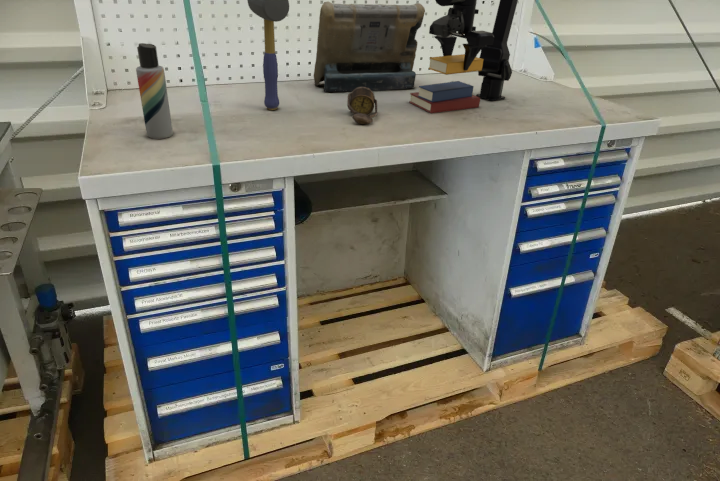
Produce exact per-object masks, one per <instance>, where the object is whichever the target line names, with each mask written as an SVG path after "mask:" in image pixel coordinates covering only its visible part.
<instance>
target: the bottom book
mask: <svg viewBox="0 0 720 481" xmlns="http://www.w3.org/2000/svg"><path fill="white" fill-rule="evenodd" d="M409 95H410V98H409V99H410V100H409V104H412V106H415V107H417V108H419V109H421V110H423V111H426V112H427V113H429V114H437V113H443V112H444V113H445V112H453V111H461V110H468V109H469V110H470V109H476V108H479V107H480V104H481V103H480V102H481V97H478V96H476V95H474V94H472V97H466V98H459V99H453V100H446V101H440V102H433V103H432V102H429V101H427V100H425V99H422V98H420V97H418V96H419V91H417V92H416V91H415V92H410V93H409Z"/></svg>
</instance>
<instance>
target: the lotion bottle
mask: <svg viewBox="0 0 720 481" xmlns="http://www.w3.org/2000/svg"><path fill="white" fill-rule="evenodd" d="M136 49H137V50H136V51H137V55H138V61H139V66H137V67H136V68H135V72H136V78H137V79H136V80H137V84H138V85H137V86H138V91H139V97H140V102H141V108H142V115H143V121H144V126H145V132H146V135H147V136H146V137H148V138H149V139H154V140H163V139H168V138H170V137H172V136H173V133H174V130H173V123H172V115H171V108H170V102H169V101H170V100H169V95H168V87H167V80H166V73H165V68H164V67H163V66H162V65H159V64H160V63H159V57H158V50H157V45H155V44H152V43H143V42H142V43H141V42H140V43H138V46H137V47H136Z"/></svg>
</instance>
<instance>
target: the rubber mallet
mask: <svg viewBox="0 0 720 481" xmlns="http://www.w3.org/2000/svg"><path fill="white" fill-rule="evenodd" d="M247 5H248V8H249V9H250V11H251V12H252V13H253V14H255V15H256V16H258V17H259V18H261V19H263V33H264V34H263V38H264V53H263V58H262V60H263V61H262V73H263V81H264V93H265V94H264V95H265V96H264V101H263V104H264V107H265V108H266V109H267V110H269V111H275V110H278V107H279V106H280V99H279V94H278V78H279V77H278V76H279V67H278V56H277V53H276V41H275V22H276V23H277V22H282V21H283V20H284V19H286V17H287V16H288V15H289V11H290V1H289V0H247Z"/></svg>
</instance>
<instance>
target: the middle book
mask: <svg viewBox="0 0 720 481" xmlns="http://www.w3.org/2000/svg"><path fill="white" fill-rule="evenodd" d="M474 87H475V86H474V85H471V84H468V83H465V82H464V81H463V82H462V81H460V80H454V81H448V82H440V83H433V84H424V85H419V86H418V88H419V89H418V92H419V96H418V97H420V98H422V99H425V100H427V101H429V102H432V103H433V102H440V101H446V100H453V99H459V98H466V97H472V95H473V94H474V93H473V92H474Z"/></svg>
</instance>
